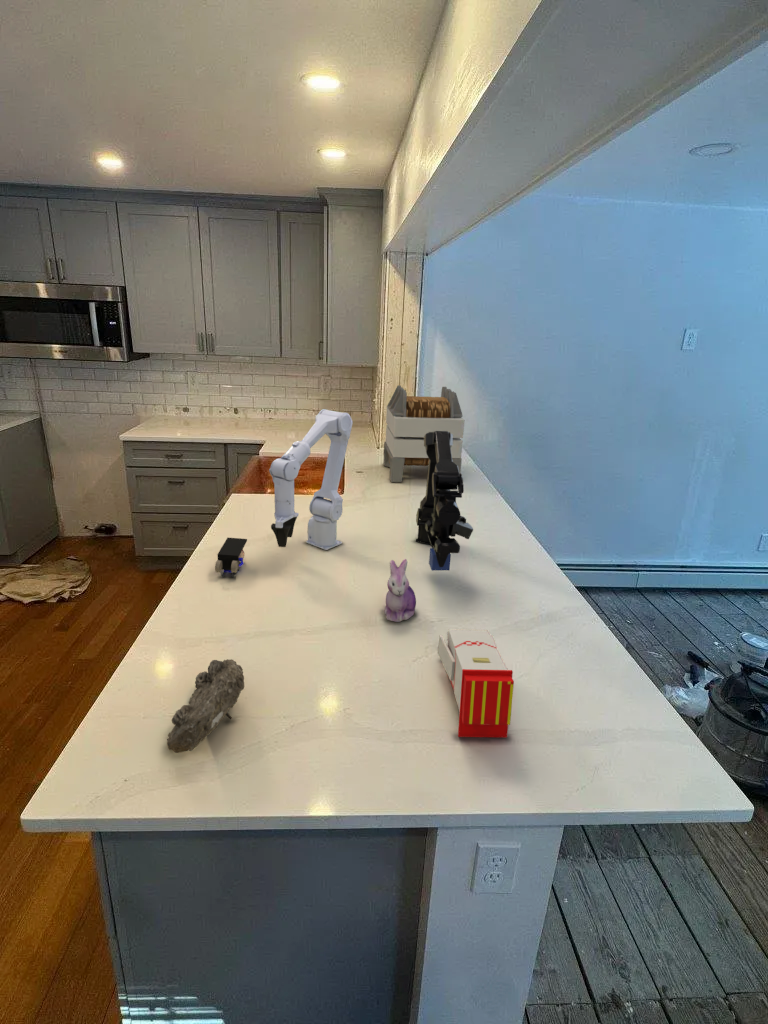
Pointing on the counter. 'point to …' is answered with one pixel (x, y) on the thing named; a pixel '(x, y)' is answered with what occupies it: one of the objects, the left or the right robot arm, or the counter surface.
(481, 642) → the toy
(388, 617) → the figurine
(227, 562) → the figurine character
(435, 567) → the blue cube
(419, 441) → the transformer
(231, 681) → the fossil
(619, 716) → the counter surface
